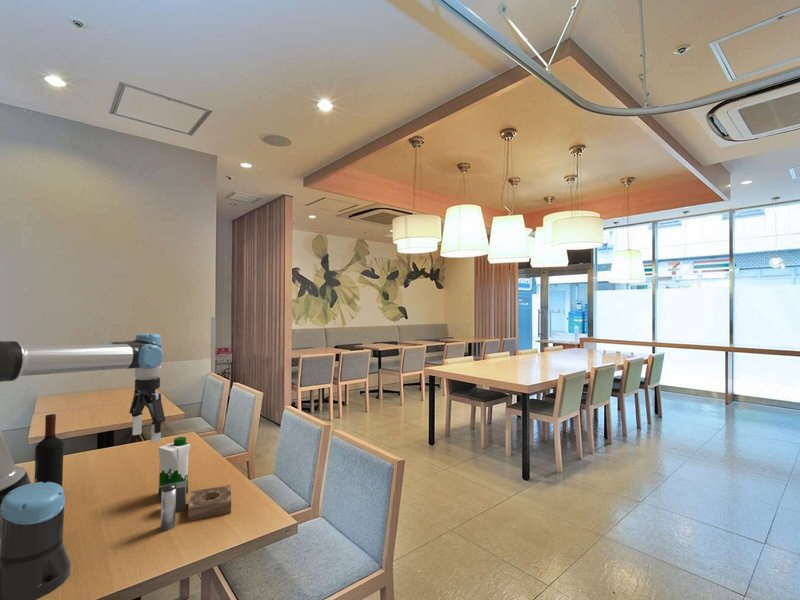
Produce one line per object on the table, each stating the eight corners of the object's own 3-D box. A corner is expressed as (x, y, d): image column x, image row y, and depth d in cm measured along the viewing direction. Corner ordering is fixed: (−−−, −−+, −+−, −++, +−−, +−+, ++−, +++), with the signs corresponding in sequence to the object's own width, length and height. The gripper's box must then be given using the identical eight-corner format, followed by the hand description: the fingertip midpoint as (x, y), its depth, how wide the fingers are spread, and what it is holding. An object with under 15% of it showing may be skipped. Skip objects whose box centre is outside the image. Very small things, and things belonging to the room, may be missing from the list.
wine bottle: (45, 505, 137) (47, 418, 137) (27, 502, 138) (30, 417, 139) (67, 495, 144) (70, 413, 144) (50, 492, 146) (53, 411, 146)
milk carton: (192, 491, 148) (193, 438, 148) (168, 502, 140) (169, 446, 140) (177, 486, 152) (178, 434, 152) (153, 496, 144) (155, 441, 144)
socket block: (231, 512, 134) (231, 501, 134) (187, 520, 128) (188, 508, 128) (230, 495, 146) (230, 484, 146) (190, 502, 140) (190, 491, 140)
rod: (174, 528, 124) (175, 487, 124) (159, 531, 122) (160, 489, 122) (175, 522, 127) (176, 482, 128) (161, 525, 126) (162, 484, 126)
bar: (184, 510, 135) (185, 486, 135) (167, 513, 133) (168, 489, 133) (185, 503, 140) (186, 480, 140) (169, 506, 138) (170, 483, 138)
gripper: (177, 380, 135) (175, 442, 134) (142, 372, 148) (140, 428, 148) (154, 383, 128) (152, 448, 128) (119, 375, 142) (118, 434, 141)
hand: (146, 438), depth 138 cm, fingers open, 13 cm apart
